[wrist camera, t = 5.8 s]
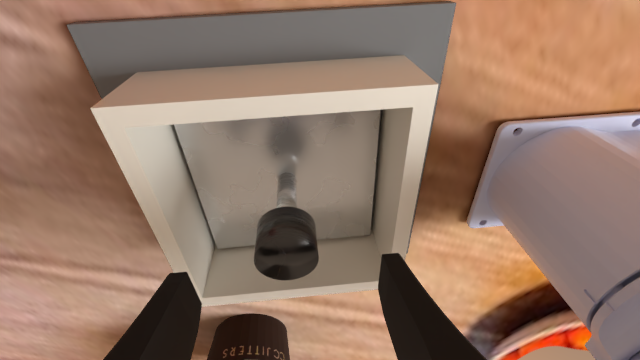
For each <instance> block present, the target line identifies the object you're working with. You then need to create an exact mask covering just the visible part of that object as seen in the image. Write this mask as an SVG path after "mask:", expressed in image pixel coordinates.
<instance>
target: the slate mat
mask: <svg viewBox="0 0 640 360" xmlns="http://www.w3.org/2000/svg"><path fill="white" fill-rule="evenodd" d="M455 7H456V3H455V2H451V1H445V2H427V3H410V4H392V5H374V6H356V7H338V8H320V9H303V10H285V11H267V12H249V13H231V14H213V15H195V16H178V17H160V18H142V19H124V20H106V21H88V22H74V23H71V24H68V25H67V27H68V29H69V31H70V33H71V36H72V38H73V40H74V42H75V44H76V46H77V48H78V50H79V52H80V54H81V56H82V59H83V61H84V63H85V65H86V67H87V69H88V71H89V73H90V75H91V77H92V80H93V82H94V84H95V86H96V88H97V90H98V92H99V94H100V96H101V98H102V99H103V98H104V97H105V96H107V95H108V94H109V93H111V92H112V91H113V90H115V89H116V88H117V87H118V86H120V85H121V84H122V83H124V82H125V81H126V80H128V79H129V78H130V77H131V76H133V75H134V74H135V73H137V72H148V71H164V70H180V69H195V68H211V67H227V66H242V65H258V64H273V63H289V62H305V61H320V60H336V59H352V58H367V57H383V56H399V55H404V56H406V57H407V58H408V59H409V60H410V61H412V62H413V63H414V64H415V65H416V66H418V67H419V68H420V69H421V70H422V71H423V72H425V73H426V74H427V75H428V76H429V77H431V78H432V79H433V80H434V81H435V82H436V83H438V84H439V85H438V90H437V95H436V100H435V106H434V111H433V116H432V121H431V127H430V132H429V137H428V142H427V148H426V153H425V158H424V163H423V168H422V174H421V179H420V184H419V189H418V195H417V200H416V205H415V210H414V215H413V221H412V226H411V231H410V236H409V242H408V247H407V252H406V254H407V253H408V248H409V243H410V238H411V233H412V227H413V222H414V217H415V212H416V207H417V202H418V197H419V192H420V186H421V181H422V176H423V171H424V166H425V161H426V156H427V150H428V145H429V140H430V135H431V130H432V125H433V120H434V114H435V109H436V104H437V99H438V94H439V89H440V84H441V78H442V73H443V68H444V63H445V58H446V53H447V48H448V43H449V37H450V32H451V27H452V22H453V17H454V12H455ZM381 119H382V110H380V122H379V134H378V146H377V158H376V170H375V183H374V195H373V207H372V219H371V230H372V224H373V212H374V201H375V189H376V177H377V166H378V154H379V143H380V131H381Z"/></svg>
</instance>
